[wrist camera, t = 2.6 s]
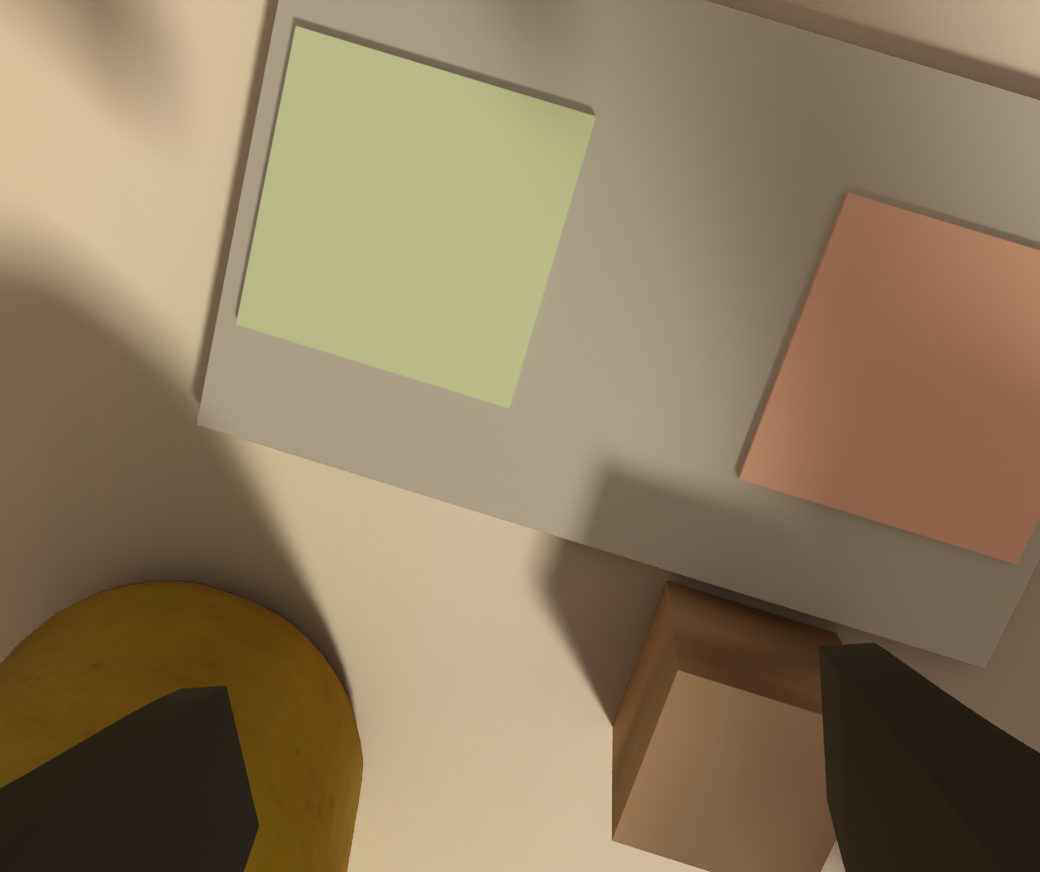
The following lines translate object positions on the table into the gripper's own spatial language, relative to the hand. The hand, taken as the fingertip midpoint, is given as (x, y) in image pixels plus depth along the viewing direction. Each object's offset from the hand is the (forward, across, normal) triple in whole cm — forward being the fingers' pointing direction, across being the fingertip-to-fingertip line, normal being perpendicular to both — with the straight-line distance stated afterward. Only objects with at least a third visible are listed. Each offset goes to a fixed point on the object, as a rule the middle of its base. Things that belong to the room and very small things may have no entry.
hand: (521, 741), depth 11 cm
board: (+10, -3, -4) cm, 11 cm away
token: (+10, -3, +5) cm, 12 cm away
